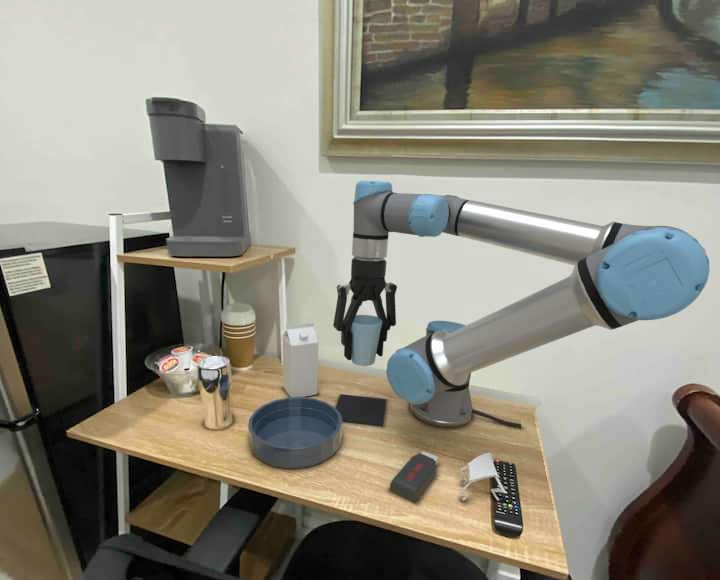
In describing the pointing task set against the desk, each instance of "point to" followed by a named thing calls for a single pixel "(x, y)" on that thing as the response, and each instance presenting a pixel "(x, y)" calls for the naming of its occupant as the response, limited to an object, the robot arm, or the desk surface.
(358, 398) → the coaster
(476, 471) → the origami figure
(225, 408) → the silver metal cylinder
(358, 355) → the cup
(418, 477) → the usb drive
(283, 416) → the bowl
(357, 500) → the desk surface
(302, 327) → the milk carton
